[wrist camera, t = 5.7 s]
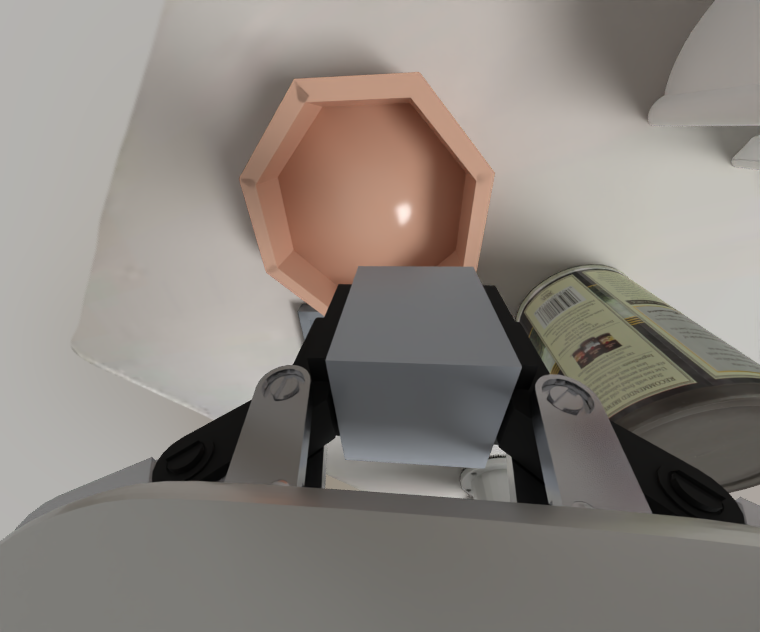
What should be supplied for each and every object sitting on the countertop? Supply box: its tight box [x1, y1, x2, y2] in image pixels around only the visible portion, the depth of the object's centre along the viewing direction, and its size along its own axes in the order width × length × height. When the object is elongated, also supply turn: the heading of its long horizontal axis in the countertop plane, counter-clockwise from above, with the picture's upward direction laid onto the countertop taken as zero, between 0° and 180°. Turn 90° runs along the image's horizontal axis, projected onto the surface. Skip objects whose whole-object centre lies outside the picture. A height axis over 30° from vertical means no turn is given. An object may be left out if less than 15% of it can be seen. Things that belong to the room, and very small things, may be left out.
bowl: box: [239, 72, 495, 316], centre depth 21 cm, size 16×16×4 cm
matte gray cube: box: [325, 266, 522, 469], centre depth 9 cm, size 4×4×5 cm
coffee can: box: [516, 265, 760, 493], centre depth 20 cm, size 10×10×14 cm
